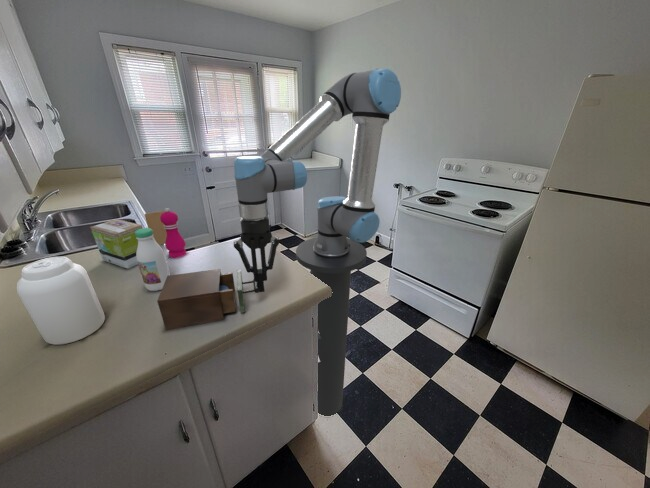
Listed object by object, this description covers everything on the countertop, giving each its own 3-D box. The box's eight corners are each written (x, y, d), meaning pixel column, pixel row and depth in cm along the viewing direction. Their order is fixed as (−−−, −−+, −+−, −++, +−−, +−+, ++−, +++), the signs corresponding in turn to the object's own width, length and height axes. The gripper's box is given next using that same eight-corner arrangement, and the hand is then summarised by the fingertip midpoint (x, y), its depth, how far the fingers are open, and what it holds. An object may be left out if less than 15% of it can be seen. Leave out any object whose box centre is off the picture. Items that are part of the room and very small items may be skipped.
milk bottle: (162, 276, 96) (147, 224, 87) (177, 282, 93) (163, 228, 84) (140, 287, 89) (122, 232, 81) (155, 294, 86) (138, 237, 78)
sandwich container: (169, 231, 134) (162, 201, 128) (175, 241, 123) (167, 210, 116) (149, 234, 129) (141, 204, 123) (153, 246, 118) (144, 213, 112)
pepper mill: (163, 257, 109) (151, 209, 101) (177, 249, 116) (166, 204, 107) (178, 259, 108) (167, 211, 99) (191, 251, 114) (181, 206, 105)
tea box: (101, 261, 105) (88, 226, 99) (127, 251, 113) (116, 218, 107) (127, 269, 100) (115, 232, 94) (152, 258, 108) (142, 223, 102)
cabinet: (224, 294, 87) (220, 268, 83) (223, 320, 76) (218, 291, 72) (174, 302, 83) (167, 275, 79) (165, 330, 72) (156, 301, 68)
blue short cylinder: (230, 294, 84) (228, 283, 82) (230, 305, 79) (228, 294, 77) (211, 297, 82) (209, 286, 80) (209, 308, 77) (207, 297, 75)
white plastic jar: (30, 345, 67) (-12, 276, 58) (75, 312, 78) (46, 250, 69) (79, 347, 66) (44, 278, 58) (117, 314, 77) (92, 252, 69)
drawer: (258, 288, 89) (256, 267, 86) (261, 309, 79) (259, 287, 76) (198, 297, 84) (193, 275, 81) (194, 321, 74) (188, 297, 71)
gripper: (276, 210, 78) (280, 280, 88) (229, 214, 74) (239, 286, 84) (280, 219, 71) (284, 293, 81) (229, 223, 68) (239, 300, 78)
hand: (261, 289), depth 83 cm, fingers closed
